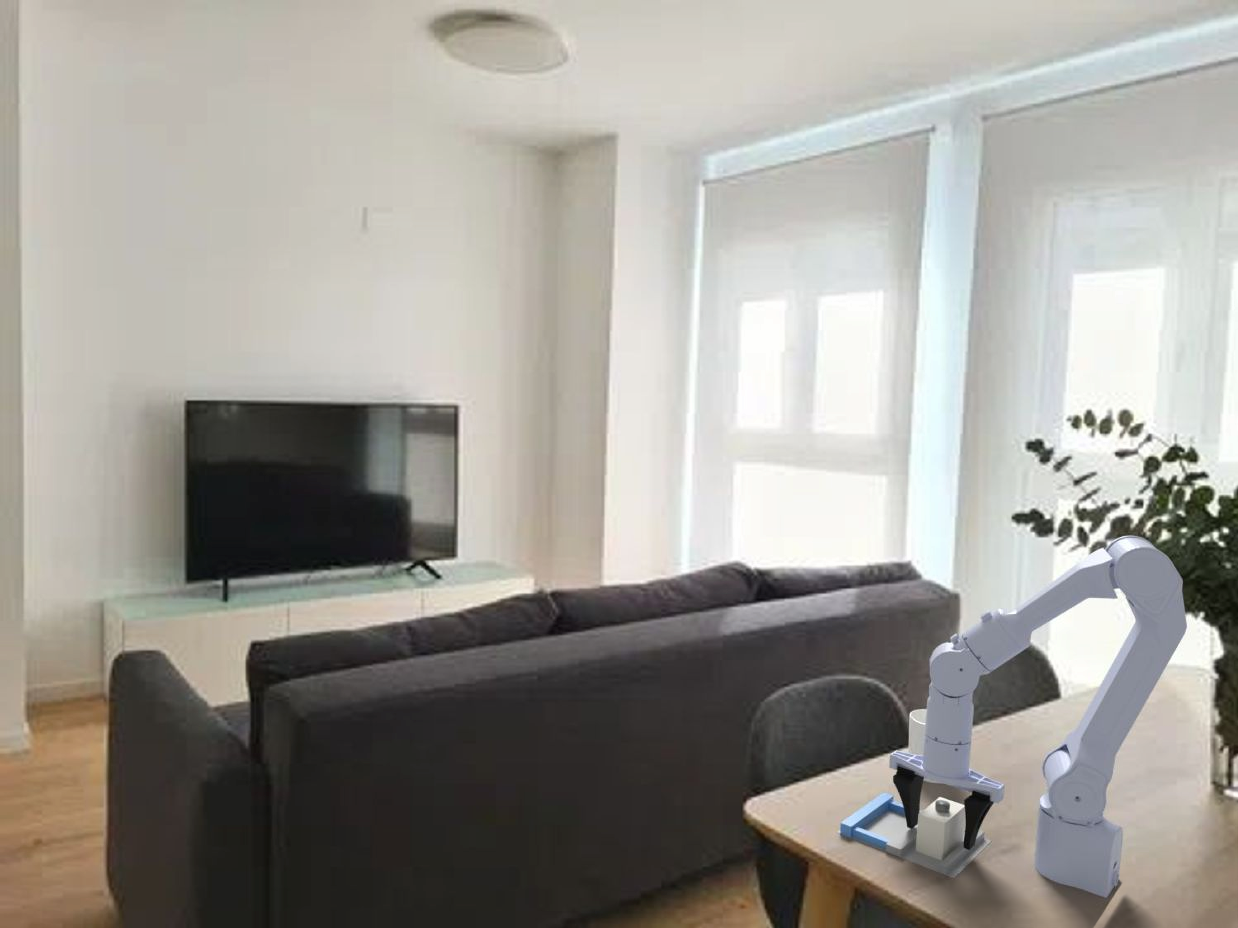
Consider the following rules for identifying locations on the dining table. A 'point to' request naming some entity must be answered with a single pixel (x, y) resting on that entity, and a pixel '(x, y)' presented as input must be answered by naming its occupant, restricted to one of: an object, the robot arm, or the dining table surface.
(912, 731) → the white cup
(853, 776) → the dining table surface
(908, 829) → the board
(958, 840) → the white knob-topped box
